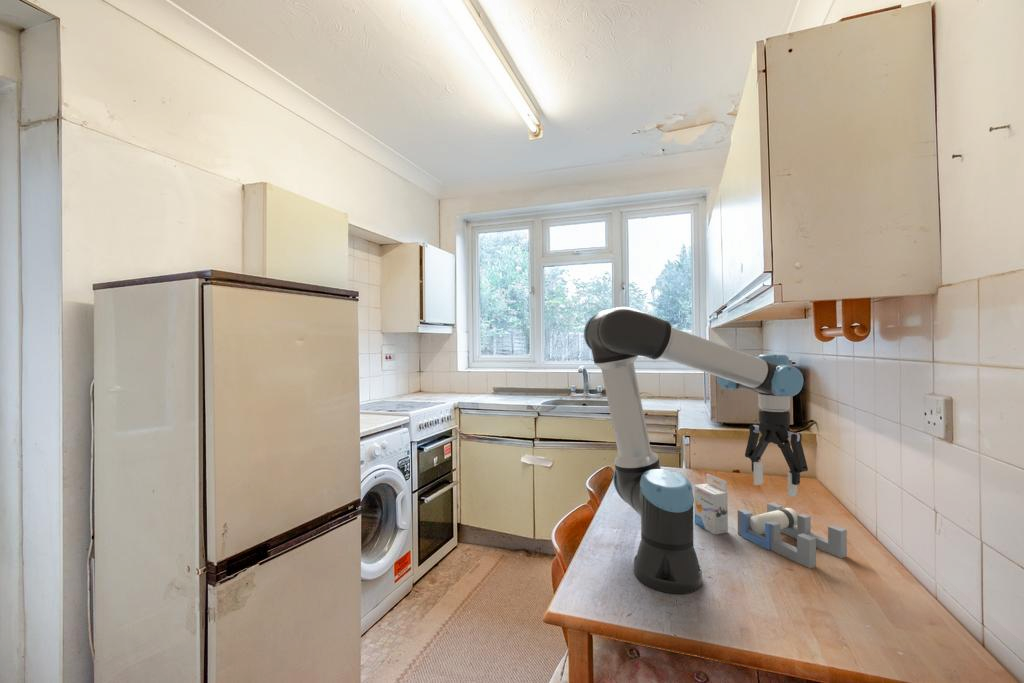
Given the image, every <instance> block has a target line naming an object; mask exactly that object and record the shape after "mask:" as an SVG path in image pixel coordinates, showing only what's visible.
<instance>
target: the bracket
mask: <svg viewBox="0 0 1024 683" xmlns="http://www.w3.org/2000/svg"><path fill="white" fill-rule="evenodd" d="M779 509H783V505H781V504H778V503H776V502H773V501H772V502H768V503H766V513H767V512H772V511H775V510H779ZM752 516H754V512H752V511H750V510H747V509H745V508H742V509H738V510H737V534H738V535H740V536H742V538H743V539H745V540H748V541H750V542H752V543H753V544H756V545H758V546H760V547H762V548H763V549H766V550H769V551H773V552H775V553H777V554H779V555H781V556H784V557H785V558H788V559H790V560H791V561H793V562H796V563H798V564H800V565H802V566H804V567H805V568H806V567H807V568H809V569H811V568H815V567H817V549H819V550H820V551H823V552H826V553H827V554H829V555H830V554H831V555H833V556H835V557H837V558H840V559H843V558H847V557H848V542H847V541H848V537H847V535H848V534H847V533H848V531H847V529H846V528H844V527H840V526H837V525H835V524H832V525H830V526H827V533H828V534H827V536H828V537H827V538H826V537H823V536H821V535H818V534H815V533H813V532H812V531H811V526H812V525H811V515H807V514H805V513H800V514H798V515H797V525H796V526H792V527H789V528H785V529H780V523H777V522H775V521H771V522H767V523H765V534H757V533H755V532H754V531H753V530H752V528H751V526H750V522H749V521H750V518H751V517H752ZM781 534H783V535H786V536H788V537H790V538H793V539H796V546H795V545H794V546H793V545H791V544H790V543H787V542H785V541H782V540H781V539H782V538H781V536H782V535H781Z"/></svg>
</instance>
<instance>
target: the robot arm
mask: <svg viewBox="0 0 1024 683" xmlns="http://www.w3.org/2000/svg"><path fill="white" fill-rule="evenodd" d="M583 338H584V342H585V343H586V345H587V347H588V349H589V350H591V354H592V359H593V363H594V365H596V366H597V367H598V368H600V369H601V374H602V379H603V384H604V388H605V393H606V394H605V395H606V399H607V403H608V410H609V414H610V418H611V425H612V429H613V434H614V438H615V444H616V449H617V456H616V457H615V459H614V461H613V462H614V468H615V469H614V471H613V475H612V476H613V477H612V481H613V486H614V490H616V492H617V494H618V496H619V497H620V499H621V500H623V501H624V502H625V503H627V505H629V506H630V507H631V508H632V509H633V510H634V511H635V512H636V513H637V514H638V515H639V516H640V533H641V534H640V536H641V537H640V542H639V545H638V548H637V553H636V555H635V557H634V559H633V572H634V575H635V577H636V578H637V580H638V581H640V582H641V583H642V584H643V585H645V586H647V587H649V588H651V589H653V590H656V591H659V592H663V593H668V594H678V595H679V594H680V595H681V594H689V593H693V592H695V591H697V590H699V589H700V588H701V586H702V583H703V572H702V568H701V565H700V563H699V562H700V561H699V559H698V556H697V553H696V550H695V546H694V504H695V496H694V491H693V485H692V483H691V482H690V480H689V479H688V478H687V477H685V476H684V475H682V474H680V473H679V472H676V471H672V470H670V469H663V468H661V463H660V458H659V455H658V454H657V453H656V452H654V451H652V449H651V444H650V439H649V434H648V428H647V423H646V418H645V414H644V408H643V404H642V403H643V402H642V398H641V393H640V388H639V383H638V378H637V372H636V368H635V362H636V360H637V358H638V357H639V356H640V357H645V358H649V359H652V360H659V359H660V358H662V359H664V360H668V361H671V362H673V363H677V364H679V365H683V366H686V367H687V368H692V369H695V370H697V371H701V372H704V373H707V374H710V375H712V376H716V381H717V384H718V385H719V387H720V388H722V389H724V390H731V391H735V390H743V391H749V392H755V393H758V399H757V400H758V401H757V402H758V403H757V404H758V408H759V410H758V422H759V425H758V424H752V425H749V434H748V440H747V443H746V444H747V445H746V448H745V453H744V456H745V458H748V459H750V461H751V471H752V473H753V485H754V486H759V485H763V483H764V481H763V480H764V479H763V478H764V474H763V470H764V468H763V461H762V457H763V455H764V452H765V451H766V449H767V447H768V446H769V444H770V443H772V444H775V445H777V447H778V448H779V449H780V450H781V453H782V456H783V458H784V459H785V461H786V463H787V464H786V465H787V466H788V467H789V470H788V471H787V497H790V498H791V497H792V498H794V497H797V496H798V486H799V485H800V484H801V473H806V472H808V471H809V468H808V467H809V466H808V463H807V461H806V455H805V452H804V448H803V443H802V440H803V438H802V437H803V435H802V433H800V432H797V433H796V432H792V431H791V429H790V425H791V412H790V411H789V410H790V409H791V397H794V396H797V395H798V394H799V393H800V392H801V391H802V389H803V386H804V376H803V373H802V372H801V370H799V369H798V368H797V367H796V366H793V365H790V364H791V363H790V358H789V356H788V355H786V354H778V353H777V354H774V353H772V354H771V353H769V354H767V353H766V354H765V353H763V354H759V355H758V356H755V355H752V354H749V353H746V352H743V351H740V350H737V349H735V348H732V347H729V346H726V345H723V344H720V343H717V342H715V341H712V340H709V339H706V338H704V337H701V336H697V335H695V334H691V333H689V332H686V331H683V330H680V329H677V328H674V327H673V324H672V323H671V322H670V321H668V320H665V319H662V318H660V317H657V316H654V315H651V314H649V313H647V312H644V311H641V310H640V309H639V310H638V309H636V308H632V307H627V306H620V307H614V308H609V309H603V310H600V311H597V312H596V313H595V314H593V315H592V316H590V317H589V319H587V321H586V323H585V324H584V328H583ZM760 434H761V435H760Z"/></svg>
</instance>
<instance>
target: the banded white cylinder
mask: <svg viewBox="0 0 1024 683" xmlns="http://www.w3.org/2000/svg"><path fill="white" fill-rule="evenodd" d="M797 515H799V514H798V513H797V512H796V510H795V509H794V508H791V507H785V508H782V509H779V510H775V511H772V512H767V511H766V512H764V513H760V514H756V515H754V514H753V516H752V517H751V518H750V521H749V522H750V526H751V528H752V530H753V531H754V532H755V533H757V534H765V523H767V522H771V521H775V522H777V523H780V529H785V528H789V527H792V526H796V527H797Z"/></svg>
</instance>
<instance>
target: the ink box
mask: <svg viewBox="0 0 1024 683" xmlns="http://www.w3.org/2000/svg"><path fill="white" fill-rule="evenodd" d="M715 481H716V482H718V483H716V482H715ZM693 486H694V523H695V524H696V525H698V526H699V527H701V528H703V529H705V530H706V531H708V532H709V533H711V534H713V535H714V536H715V535H719V534H726V533H728V532H729V530H728V529H729V526H728V524H729V522H728V520H729V519H728V518H729V516H728V514H729V513H728V510H729V509H728V498H729V497H728V496H729V495H728V482H727V481H726V480H724V479H722V478H719V477H717V476H714V475H712V474H709V473H706V483H699V484H694V485H693Z"/></svg>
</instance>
